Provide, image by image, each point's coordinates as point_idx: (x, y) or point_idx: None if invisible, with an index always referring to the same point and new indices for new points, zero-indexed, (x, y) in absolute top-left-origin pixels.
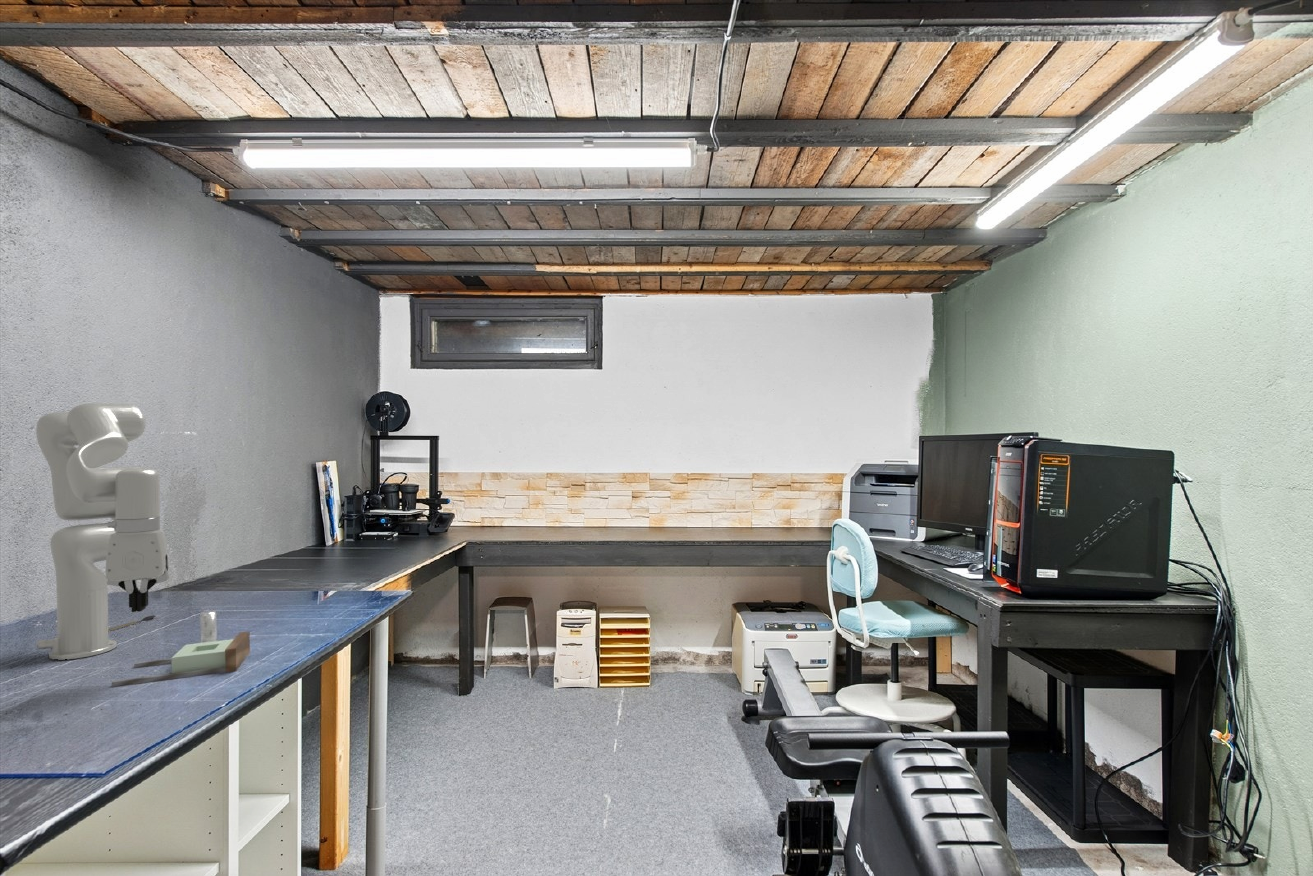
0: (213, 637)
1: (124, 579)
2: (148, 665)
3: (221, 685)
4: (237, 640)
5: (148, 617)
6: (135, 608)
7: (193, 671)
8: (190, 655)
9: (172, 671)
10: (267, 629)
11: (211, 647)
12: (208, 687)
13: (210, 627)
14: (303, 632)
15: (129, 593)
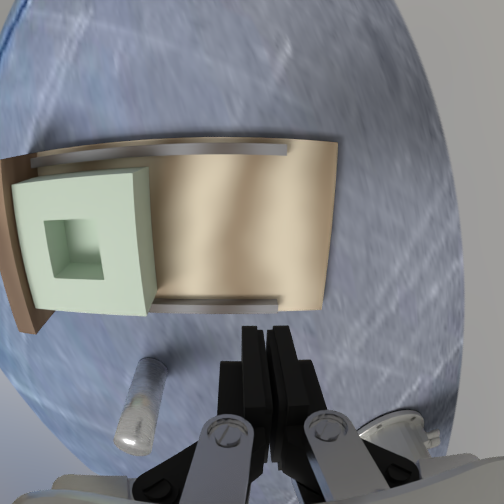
0: (130, 388)
1: (404, 493)
2: (245, 300)
3: (42, 101)
4: (3, 249)
5: None
6: (270, 337)
7: (91, 152)
8: (84, 177)
9: (143, 168)
10: (114, 451)
11: (74, 275)
12: (63, 95)
13: (128, 406)
14: (40, 406)
15: (325, 413)
